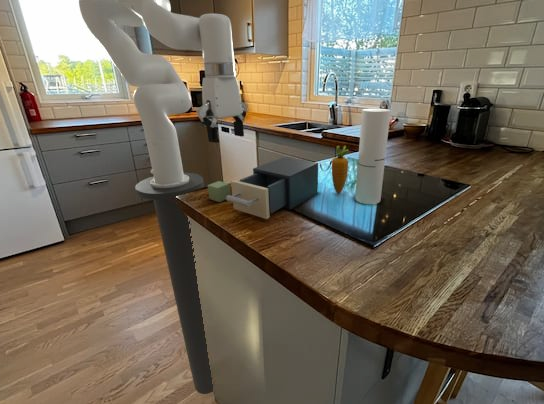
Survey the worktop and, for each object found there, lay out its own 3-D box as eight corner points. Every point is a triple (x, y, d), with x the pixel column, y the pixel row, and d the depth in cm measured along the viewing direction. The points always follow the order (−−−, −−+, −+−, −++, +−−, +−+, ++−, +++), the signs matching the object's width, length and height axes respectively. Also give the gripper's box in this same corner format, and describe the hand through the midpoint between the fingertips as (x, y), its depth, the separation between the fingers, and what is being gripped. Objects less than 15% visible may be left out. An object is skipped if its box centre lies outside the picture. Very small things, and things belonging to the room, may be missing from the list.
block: (209, 199, 88) (207, 185, 86) (220, 194, 91) (218, 180, 89) (219, 202, 85) (217, 188, 84) (230, 197, 89) (229, 183, 87)
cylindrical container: (385, 202, 84) (396, 110, 74) (361, 205, 82) (370, 112, 72) (373, 193, 90) (381, 108, 80) (351, 196, 89) (357, 109, 79)
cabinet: (290, 210, 80) (289, 176, 76) (255, 200, 87) (252, 168, 83) (317, 193, 91) (318, 162, 87) (284, 185, 98) (283, 157, 94)
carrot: (342, 190, 93) (344, 142, 87) (349, 196, 89) (352, 146, 83) (327, 192, 92) (329, 144, 86) (334, 198, 87) (336, 147, 81)
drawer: (255, 226, 70) (253, 195, 67) (221, 214, 76) (218, 185, 73) (297, 201, 83) (297, 174, 80) (266, 193, 89) (264, 168, 86)
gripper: (233, 71, 84) (239, 132, 91) (181, 71, 71) (192, 143, 78) (253, 71, 80) (257, 135, 87) (203, 71, 67) (212, 146, 74)
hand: (227, 138), depth 82 cm, fingers open, 9 cm apart
